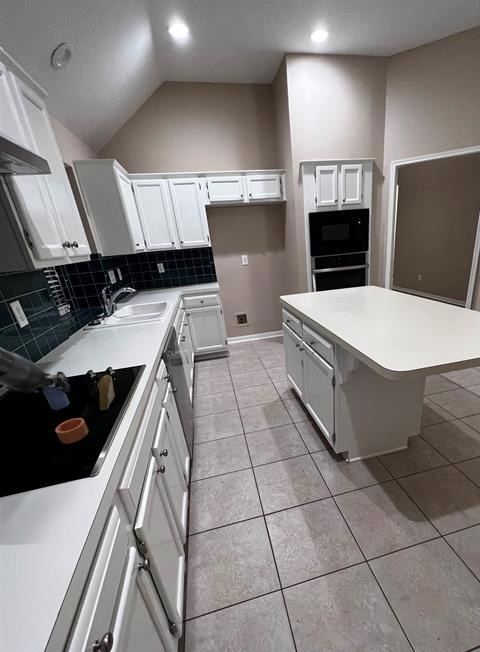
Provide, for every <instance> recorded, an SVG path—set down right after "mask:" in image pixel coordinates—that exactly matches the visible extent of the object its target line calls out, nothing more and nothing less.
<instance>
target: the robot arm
mask: <svg viewBox="0 0 480 652" xmlns="http://www.w3.org/2000/svg"><path fill="white" fill-rule="evenodd" d="M55 382H56V383H57V385H56V384H55ZM0 385H2V386H6V389H7V390H11V391H16V392H20V393H26V394H31V393H32V392H33V393H36V394H38V393H39V394H43V395H45V394H44V392H43V389H42V387H44V388H48V389H52V388H56V389H59V390H61V391H63V392H65V394H66V393H70V388H71V385H70V384H69V378H68V377H67V375H65V373H64V372H63V371H57V372H56V374H51V373H50V372H46V371H43V369H42V368H41V367H40V365H39V364H37V363H35V362H33V361H31V360H29V359H28V358H25V357H23V356H21V355H20V354H17V353H16V352H12V351H9V350H7V349H5V348H3V347H1V346H0Z"/></svg>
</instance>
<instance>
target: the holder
mask: <svg viewBox="0 0 480 652" xmlns="http://www.w3.org/2000/svg"><path fill="white" fill-rule="evenodd" d="M55 433H56V435H57V437H58V439H59V441H60V442H61V444H65V445H67V444H68V445H69V444H74V443H77V442H78V441H81V440H82V439H84V438H86V436H88V434H89V428H88V425H87V424H86V421H85V419H84V418H82V417H77V418H76V417H75V418H71V419H68V420H66V421H63V422H61V423H60V424H58V425H57V427H56V428H55Z"/></svg>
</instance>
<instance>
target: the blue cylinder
mask: <svg viewBox="0 0 480 652" xmlns="http://www.w3.org/2000/svg"><path fill="white" fill-rule="evenodd" d="M55 384H56V385H57V383H56V382H55ZM42 389H43V392H44V394H43V395H45V397H46V400H47V402H48V404H49V406H50V408H51V410H53V411H58V410H62V409H64V408H66V407H68V406H70V400H69V398H68V396H67V394H66V393H65V392H63V391H61V390H59V389H56V388H52V389H48V388H44V387H42Z"/></svg>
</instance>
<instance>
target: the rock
mask: <svg viewBox="0 0 480 652" xmlns="http://www.w3.org/2000/svg"><path fill="white" fill-rule="evenodd" d="M97 388H98V391H99V410H100V411H106V410H108V409H109V407H110V405H111V403H113V401H114V398H115V397H116V396H115V389H114V385H113V377H112V376H111V375H109V374H105V375H103V376H102V377H101V378H100V380H99V381H98V383H97Z"/></svg>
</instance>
